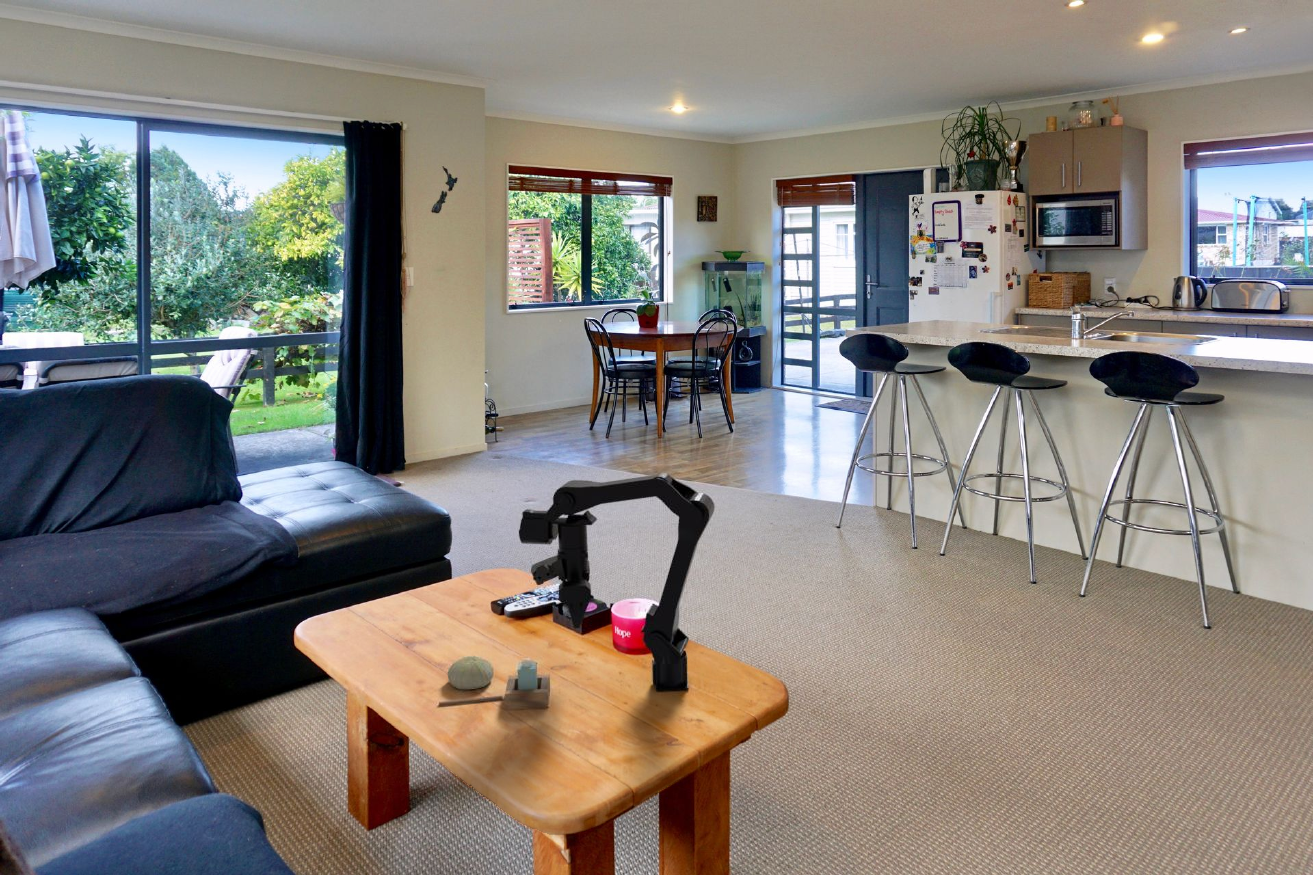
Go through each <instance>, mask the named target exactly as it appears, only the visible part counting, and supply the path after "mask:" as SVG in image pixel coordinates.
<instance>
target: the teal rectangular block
mask: <svg viewBox="0 0 1313 875" xmlns="http://www.w3.org/2000/svg"><path fill="white" fill-rule="evenodd" d="M537 664H538V661H532V659H531V658H528V657H526V658H524V659H523V660H522V661H519V662H518V666H517V670H516V671H517V676H518V690H535V689H538V682H537V675H538V665H537Z"/></svg>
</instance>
